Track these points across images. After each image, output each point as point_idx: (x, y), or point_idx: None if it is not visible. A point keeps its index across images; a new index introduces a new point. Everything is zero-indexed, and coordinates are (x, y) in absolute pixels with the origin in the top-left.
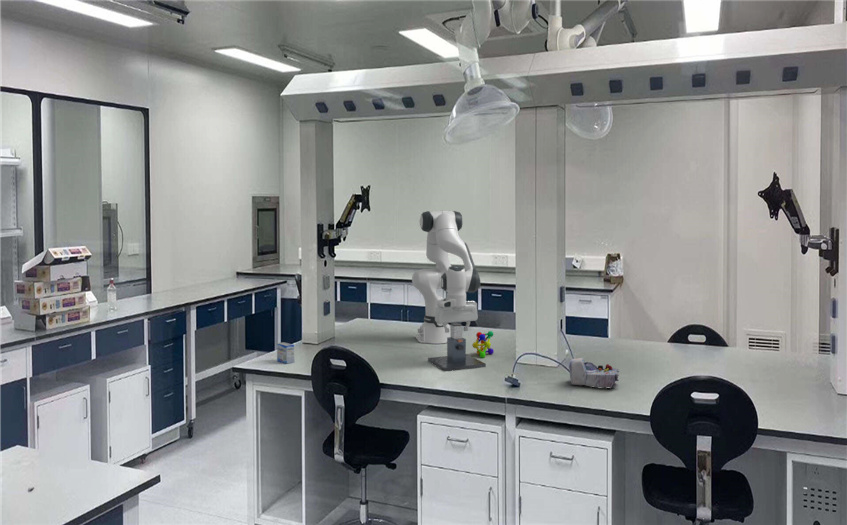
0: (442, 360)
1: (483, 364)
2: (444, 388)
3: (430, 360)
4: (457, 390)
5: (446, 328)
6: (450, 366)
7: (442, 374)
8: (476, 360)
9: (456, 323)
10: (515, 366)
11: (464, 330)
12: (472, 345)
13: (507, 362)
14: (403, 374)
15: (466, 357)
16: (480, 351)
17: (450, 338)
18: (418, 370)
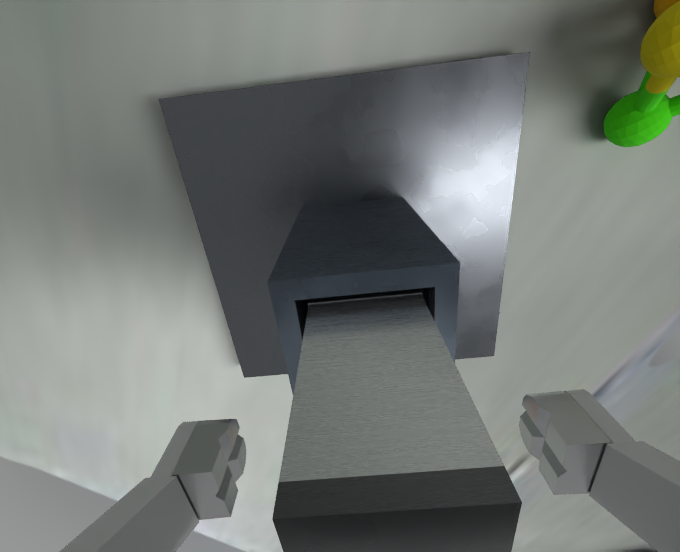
0: (262, 217)
1: (477, 354)
2: (206, 529)
3: (180, 155)
4: (245, 547)
5: (172, 533)
6: (280, 358)
7: (226, 402)
8: (484, 278)
9: (433, 532)
10: (632, 370)
11: (527, 413)
12: (653, 31)
13: (663, 290)
14: (27, 361)
15: (464, 178)
16: (648, 107)
17: (294, 343)
18: (104, 315)
